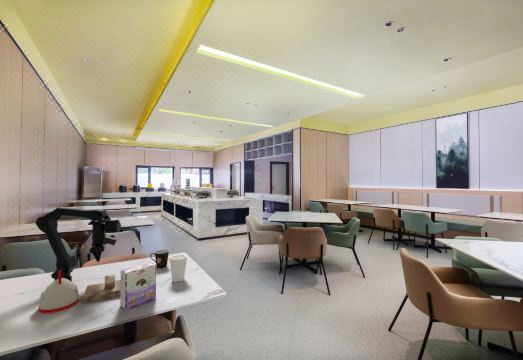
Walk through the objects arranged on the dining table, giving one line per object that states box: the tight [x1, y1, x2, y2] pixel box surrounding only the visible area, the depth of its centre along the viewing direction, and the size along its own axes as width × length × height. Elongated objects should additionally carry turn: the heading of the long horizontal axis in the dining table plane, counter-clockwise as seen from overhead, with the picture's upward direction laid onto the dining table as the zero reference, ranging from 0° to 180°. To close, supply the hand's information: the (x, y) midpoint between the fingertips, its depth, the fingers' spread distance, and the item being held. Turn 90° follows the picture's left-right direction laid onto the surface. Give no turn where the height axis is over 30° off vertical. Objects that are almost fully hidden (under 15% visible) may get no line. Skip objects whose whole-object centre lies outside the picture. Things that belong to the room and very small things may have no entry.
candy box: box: [119, 262, 157, 311], centre depth 110 cm, size 14×6×16 cm, turn 141°
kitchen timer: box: [37, 271, 80, 315], centre depth 107 cm, size 14×14×15 cm
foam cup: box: [168, 254, 188, 283], centre depth 136 cm, size 10×9×13 cm
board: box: [82, 279, 121, 304], centre depth 119 cm, size 16×14×3 cm
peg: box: [104, 274, 116, 289], centre depth 120 cm, size 4×4×8 cm
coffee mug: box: [149, 249, 170, 270], centre depth 157 cm, size 12×9×10 cm
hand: (98, 261), depth 129 cm, fingers closed
